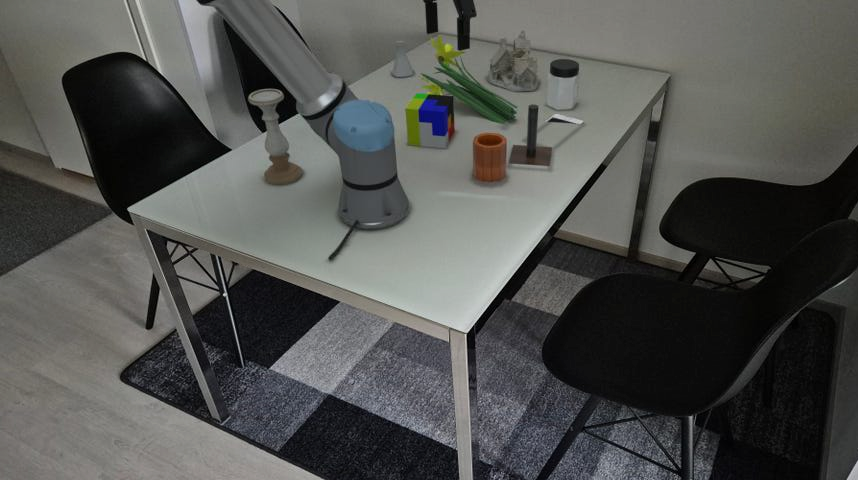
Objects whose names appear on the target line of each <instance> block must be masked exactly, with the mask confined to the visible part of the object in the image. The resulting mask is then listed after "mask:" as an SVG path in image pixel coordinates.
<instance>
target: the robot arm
mask: <svg viewBox="0 0 858 480" xmlns="http://www.w3.org/2000/svg"><path fill="white" fill-rule="evenodd" d="M195 1H196V2H197V3H198V4H199V5H200V6H204V7H212V8H214V9H215V10H216V11H217V13H219V15H220V16H221V17H222V18H223V19H224V20H225V21H226V23H227V24H228V25H229V26H230V27H231V28H232V30H233V31H234V32H235V33H236V34H237V35H238V37H240V39H242V40H243V42H244V43H245V44H246V45H247V46H248V47H249V48H250V50H251V51H252V52H253V53H254V54H255V55H256V57H258V59H259V60H260V61H261V62H262V63H263V65H265V66H266V67H267V69H268V70H269V71H270V72H271V73H272V74H273V76H275V78H277V80H278V81H279V82H280V83H281V84H282V85H283V86H284V88H285V89H286V90H287V91H288V92H289V93H290V94H291V96H292V97H293V98H294V99H295V100H296V103H295V107H296V109H295V110H296V111H297V113H298V114H299V115H300V117H302V118H303V120H304V121H305V122H306V123H307V124H308V125H309V127H310V129H311V130H312V131H313V132H314V133H315V134H316V135H317V136H318V137H320V138H321V140H323V141H324V143H326V144H327V145H328V146H329V148H330V149H331V150H332V151H333V152H334V153H335V154H336V155H337V157H338V160H339V161H338V162H339V166H340V174H341V179H342V185H341V191H340V195H339V200H338V206H337V209H338V210H337V211H338V215H339V216H338V217H339V219H340V220H341V221H342V223H344V224H345V225H347V226H348V227H350V228H349V230H348V231H347V233H346V234H345V236H344V237H343V238H342V240H341V242H340V243H339V245H338V246H337V247H336V249H334V251H333V252H332V253H331V254H330V255H329V256H328V260H329V261H332V260H333V259H334V258H335V257H336V256H337V254H339V252H340V251H341V250H342V248H343V247H344V246H345V244H346V243H347V241H348V239H349V238H350V236H351V235H352V233H353V232H354V230H355V229H357V230H361V231H378V230H383V229H387V228H390V227H393V226H395V225H398V224H400V223H401V222H402V221H403V220H404V219H406V217H408V214H409V212H410V203H409V202H410V201H409V198H408V195H407V194H406V192H405V189H404V187H403V185H402V183H401V181H400V179H399V175H398V165H397V152H396V141H395V125H394V122H393V118H392V117H393V116H392V114H391V112H390V111H389V109H388V108H387V107H385V106H384V105H383V104H382V103H379V102H376V101H372V102H371V101H370V100H369V99H359V98H358V97H357V96H356V95H355V93H354V92H353V91H352V90H351V88H350V87H349V86H348V85H347V83H346V82H345V81H344V79H343V78H342V77H341V76H340V75H339V74H336V73H328V71H327V70H326V68H325V67H324V66H323V65H322V64H321V62H320V61H319V60H318V59H317V58H316V56H315V55H314V54H313V52H312V51H311V50H310V49H309V47H308V46H307V45H306V44H305V43H304V40H302V39H301V38H300V36H299V35H298V34H297V33H296V31H295V30H294V29H293V27H292V26H291V25H290V24H289V23H288V21H287V20H286V19H285V18H284V17H283V15H282V14H281V13H280V12H279V10H278V9H277V8H276V7H275V5H274V4H273V3H272V2H271V0H195ZM422 1H423V3H424V9H425V10H424V11H425V13H424V14H425V29H426V34H427V35H431V34H436V33H439V15H438V14H439V13H438V2H437V1H438V0H422ZM452 2H453V5H454V7H455V10H456V13H457V15H458V16H457V18H456V37H457V38H456V40H457V41H456V42H457V45H456V46H457V51H458V52H461V51H466V50H470V49H471V20H472V19H473V18H477V10H476V6H475V2H474V0H452Z"/></svg>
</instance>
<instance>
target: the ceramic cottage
mask: <svg viewBox="0 0 858 480" xmlns="http://www.w3.org/2000/svg"><path fill="white" fill-rule="evenodd" d="M525 30H526V29H521V30H520V33H518V37H517V38H516V37H515V38H514V40H513V46H512V48H513V50H508V49H507V48H508V47H507V46H508V45H507V37H506V36H501V37H500V41H499V47H498V49H497V51H496V52H495V53H494V54H493V56H492V57H491V58H490V59H489V62H490V64H489V70H488V73H487V76H486V81H487V82H488V83H490V84H491V85H495V86H497V87H501V88H504V89H506V90H509V91H511V92H517V93H518V92H533V91H536V90H537V89H538V86H539V83H540V81H539V75H538V74H537V73H538V72H539V69H538V57H537V55H536V56H533V55H531V51H532V50H531V49H532V48H531V38H527V37H526V31H525Z"/></svg>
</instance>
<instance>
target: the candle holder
mask: <svg viewBox="0 0 858 480" xmlns="http://www.w3.org/2000/svg"><path fill="white" fill-rule="evenodd" d="M284 99H285V95H284V92H283V91H282V90H280V89H276V88H263V89H257V90H255V91H253V92H251V93H249V95H248V97H247V100H248V103H249V104H251V105H253V106H257V107H258V108H259V109H260V110H261V111H262V116H261V120H262V121H264V123H265V128H266V137H265V140H264V149H265V151H266V152H267V154H269V155H268V160H269V161H270V162H271V163H272V164H271V165H270V166H269V167H268V168H267V169H266V170H265V171H264V173H263V178H264V180H265V181H266V182H267V183H269V184H271V185H277V186H279V185H288V184H291V183H294V182H296V181H298V180H299V179H300V178H301V177H302V175H303V170H302V167H301V166H299V165H298V164H295V162H292V161H289V160H290V157H291V154H290V153H289V152H288V151H289V149H290V143H289V141H288V139H287V138H286V136H285V135H284V134H283V132H282V130H281V127H280V125H279V120H278V119H280V115H279V113H278V112H277V110H276V108H277V106H278V104H279V103H280V102H282V101H284Z"/></svg>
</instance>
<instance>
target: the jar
mask: <svg viewBox="0 0 858 480" xmlns="http://www.w3.org/2000/svg"><path fill="white" fill-rule="evenodd" d="M549 65H550V66H549V73H548V75H547V92H546V106H548V107H550V108H552V109H554V110H556V111H564V110H573V109H574V107H575V106H576V105H577V101H578V93H579V92H578V91H579V82H580V63H579V62H578V61H577V60H573V59H570V58H569V59H568V58H559V59H554V60H552V61H551V62H550V64H549Z"/></svg>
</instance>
